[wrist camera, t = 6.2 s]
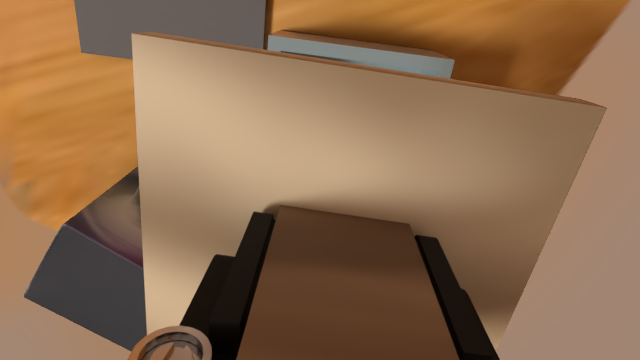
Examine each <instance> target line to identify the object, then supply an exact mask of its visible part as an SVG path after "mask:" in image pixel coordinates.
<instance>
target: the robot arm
mask: <svg viewBox="0 0 640 360" xmlns="http://www.w3.org/2000/svg"><path fill="white" fill-rule="evenodd" d="M273 218H274V215H273V214H269V213H262V212H255V211H254V212H253V214H252V216H251V219H250V221H249V224H248V226H247V228H246V231H245V233H244V236H243V238H242V241H241V243H240V245H239V248H238V250H237V253H236V255H235V257H234V256H227V255H220V254H216V255H215V256H214V257H213V259H212V261H211V263H210V265H209V267H208V269H207V271H206V273H205V275H204V277H203V279H202V281H201V283H200V285H199V287H198V289H197V291H196V293H195V295H194V297H193V299H192V301H191V303H190V305H189V307H188V309H187V311H186V313H185V315H184V317H183V319H182V321H181V323H180V325H179V326H169V327H165V328H162V329H159V330H156V331H154V332H152V333H150V334H149V335H147V336H145V337H144V338H143V339H142V340H141V341H140V342H138V343H137V344H136V345H135V347H134V348H133V350H132V352H131V354H130V355H129V358H128V360H236V359H237V355H238V352H239V348H240V345H241V341H242V338H243V334H244V331H245V327H246V324H247V320H248V317H249V313H250V310H251V306H252V303H253V299H254V296H255V292H256V288H257V285H258V281H259V278H260V274H261V271H262V267H263V264H264V260H265V257H266V253H267V250H268V246H269V243H270V239H271V236H272V232H273V229H274V225H275V222H276V220H274V219H273ZM414 238H415V240H416V243H417V246H418V249H419V251H420V254H421V257H422V259H423V262H424V265H425V268H426V270H427V273H428V276H429V278H430V281H431V284H432V287H433V289H434V292H435V295H436V298H437V300H438V303H439V306H440V308H441V311H442V314H443V317H444V319H445V322H446V325H447V327H448V330H449V333H450V336H451V338H452V341H453V344H454V346H455V349H456V352H457V355H458V357H459V360H500V359H499V357H498V355H497V353H496V351H495V349H494V347H493V345H492V343H491V341H490V339H489V337H488V334H487V332H486V330H485V328H484V326H483V324H482V322H481V320H480V318H479V316H478V314H477V312H476V310H475V308H474V306H473V303H472V301H471V299H470V297H469V295H468V294H467V292H466V291H465V290H464V289H461V288H460V286H459V283H458V281H457V279H456V277H455V275H454V273H453V271H452V269H451V266H450V264H449V262H448V260H447V258H446V256H445V254H444V251H443V249H442V247H441V245H440V243H439V241H438V239H437V238H435V237H428V236H421V235H415V237H414Z"/></svg>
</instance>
